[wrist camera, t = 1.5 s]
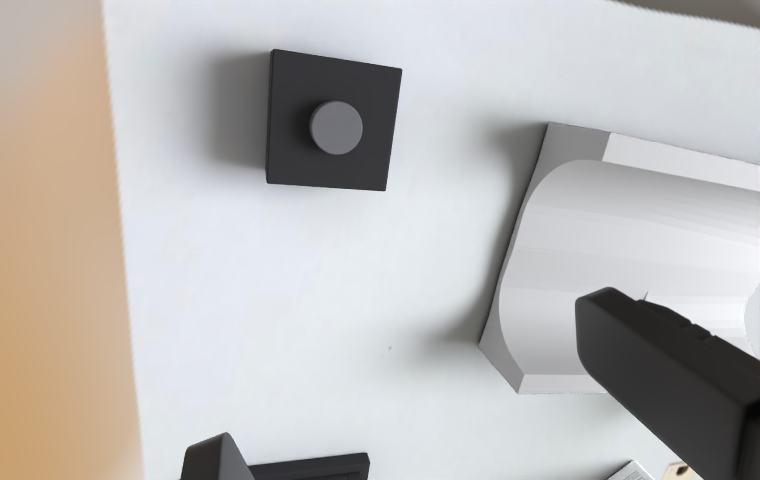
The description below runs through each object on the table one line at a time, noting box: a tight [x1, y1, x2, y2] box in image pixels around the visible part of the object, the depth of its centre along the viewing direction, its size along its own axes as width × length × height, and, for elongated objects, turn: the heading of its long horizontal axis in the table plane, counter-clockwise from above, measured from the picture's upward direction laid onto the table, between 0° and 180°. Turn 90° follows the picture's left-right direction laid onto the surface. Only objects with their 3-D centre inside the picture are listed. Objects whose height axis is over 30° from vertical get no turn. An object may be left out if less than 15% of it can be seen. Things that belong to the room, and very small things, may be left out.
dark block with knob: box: [265, 49, 402, 191], centre depth 22 cm, size 6×6×4 cm
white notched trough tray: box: [478, 122, 760, 394], centre depth 30 cm, size 25×21×8 cm
